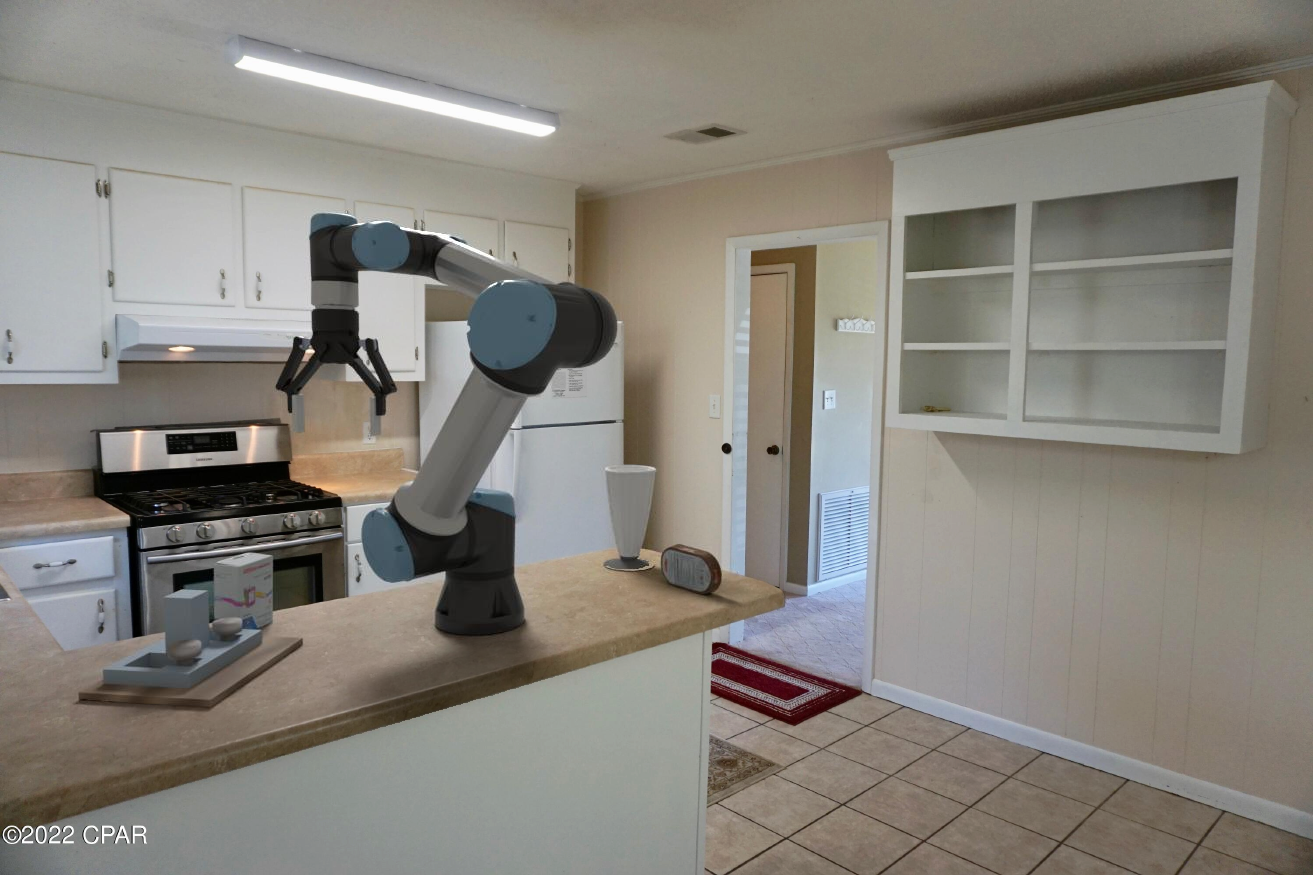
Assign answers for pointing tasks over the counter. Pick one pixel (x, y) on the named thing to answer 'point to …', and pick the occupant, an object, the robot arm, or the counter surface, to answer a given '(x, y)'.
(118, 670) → the panel
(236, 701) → the counter surface
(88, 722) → the counter surface
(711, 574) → the tin
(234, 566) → the ink box
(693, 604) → the counter surface
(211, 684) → the boss board
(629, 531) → the cup
